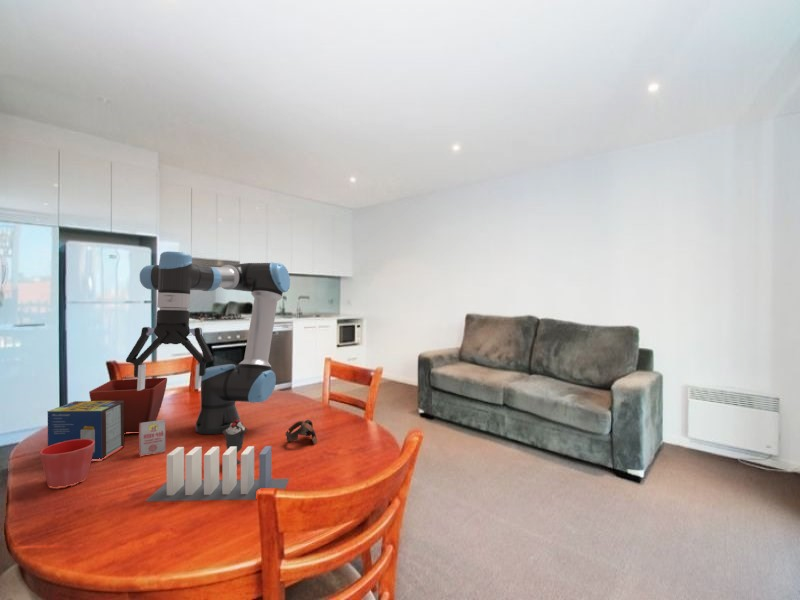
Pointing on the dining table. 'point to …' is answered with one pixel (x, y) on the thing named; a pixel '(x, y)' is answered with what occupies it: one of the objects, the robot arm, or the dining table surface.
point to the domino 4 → (229, 470)
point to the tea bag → (152, 437)
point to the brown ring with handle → (301, 431)
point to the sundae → (235, 435)
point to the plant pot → (133, 399)
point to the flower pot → (67, 461)
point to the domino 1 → (175, 470)
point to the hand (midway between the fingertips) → (169, 389)
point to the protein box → (88, 425)
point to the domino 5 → (247, 469)
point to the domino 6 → (265, 467)
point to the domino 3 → (211, 470)
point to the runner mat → (214, 492)
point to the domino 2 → (193, 470)
